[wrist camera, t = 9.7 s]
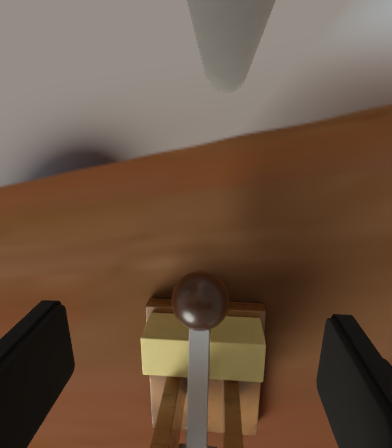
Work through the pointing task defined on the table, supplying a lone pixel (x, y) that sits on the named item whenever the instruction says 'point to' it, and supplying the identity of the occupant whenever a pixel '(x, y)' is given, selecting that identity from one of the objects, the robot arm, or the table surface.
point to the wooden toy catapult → (217, 396)
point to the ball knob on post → (199, 343)
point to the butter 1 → (165, 346)
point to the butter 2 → (237, 350)
